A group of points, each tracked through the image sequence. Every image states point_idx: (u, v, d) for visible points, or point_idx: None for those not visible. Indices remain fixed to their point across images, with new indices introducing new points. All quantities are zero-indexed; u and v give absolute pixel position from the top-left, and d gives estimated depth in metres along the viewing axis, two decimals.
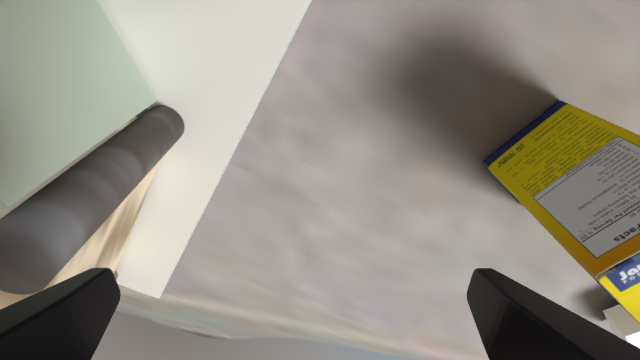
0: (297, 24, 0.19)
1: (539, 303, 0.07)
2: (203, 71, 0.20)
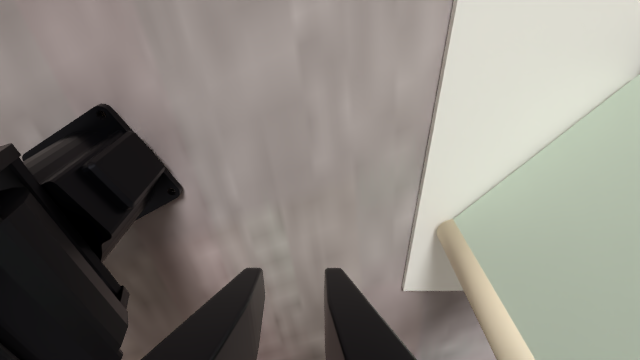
0: None
1: (351, 303, 0.07)
2: (592, 35, 0.17)
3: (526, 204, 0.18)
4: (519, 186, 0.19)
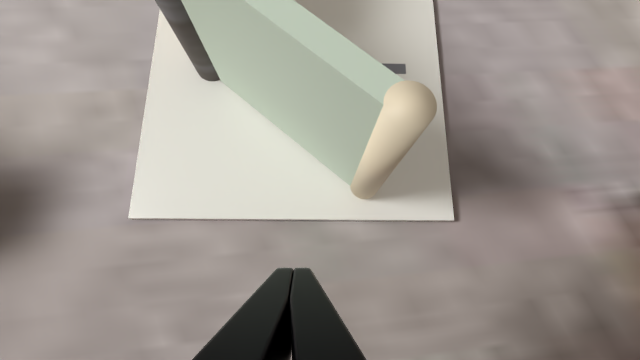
0: (133, 189, 0.22)
1: (313, 303, 0.07)
2: (195, 120, 0.24)
3: (306, 136, 0.20)
4: (302, 141, 0.22)
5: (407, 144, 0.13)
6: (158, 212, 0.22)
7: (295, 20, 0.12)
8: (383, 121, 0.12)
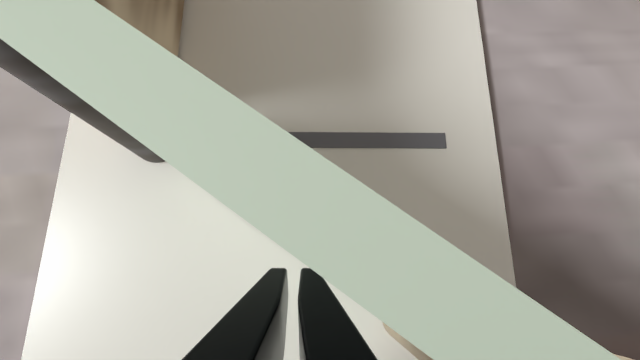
0: (25, 345, 0.14)
1: (321, 303, 0.07)
2: (127, 226, 0.16)
3: None
4: None
5: None
6: None
7: (279, 185, 0.04)
8: None
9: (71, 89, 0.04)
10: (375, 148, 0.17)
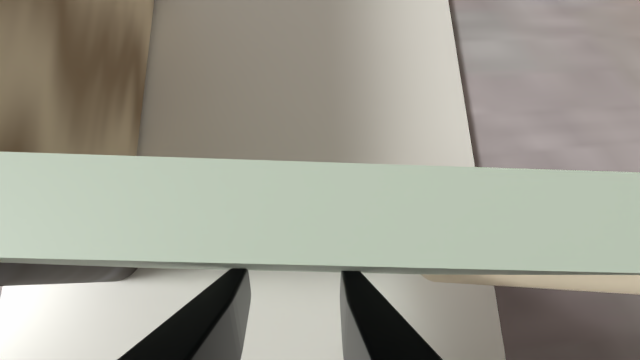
0: None
1: (371, 304, 0.07)
2: None
3: None
4: None
5: None
6: None
7: (347, 213, 0.04)
8: None
9: (72, 257, 0.04)
10: None
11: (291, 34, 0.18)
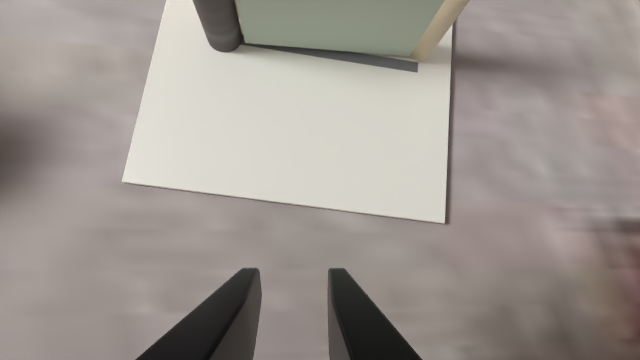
0: (130, 152, 0.22)
1: (356, 303, 0.07)
2: (200, 90, 0.23)
3: (367, 29, 0.22)
4: (357, 41, 0.23)
5: None
6: (153, 179, 0.22)
7: None
8: None
9: None
10: (370, 65, 0.25)
11: None
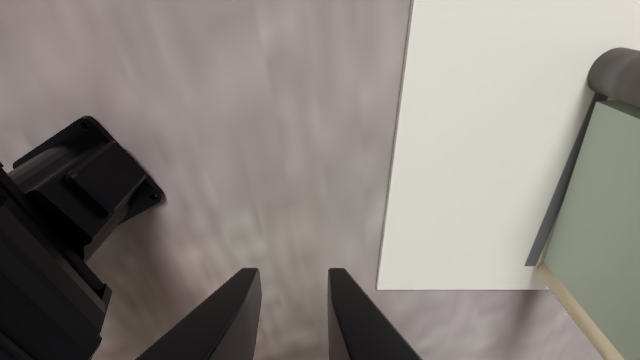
0: None
1: (355, 304, 0.07)
2: (538, 52, 0.18)
3: (583, 245, 0.20)
4: (570, 226, 0.21)
5: None
6: (419, 15, 0.17)
7: None
8: None
9: None
10: (539, 228, 0.24)
11: None
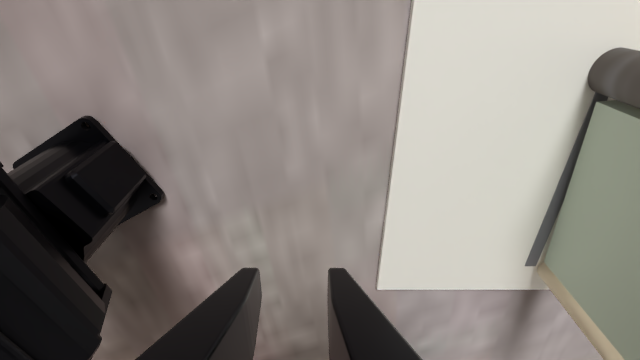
0: None
1: (356, 303, 0.07)
2: (538, 52, 0.18)
3: (583, 245, 0.20)
4: (570, 226, 0.21)
5: None
6: (420, 15, 0.17)
7: None
8: None
9: None
10: (539, 228, 0.24)
11: None
